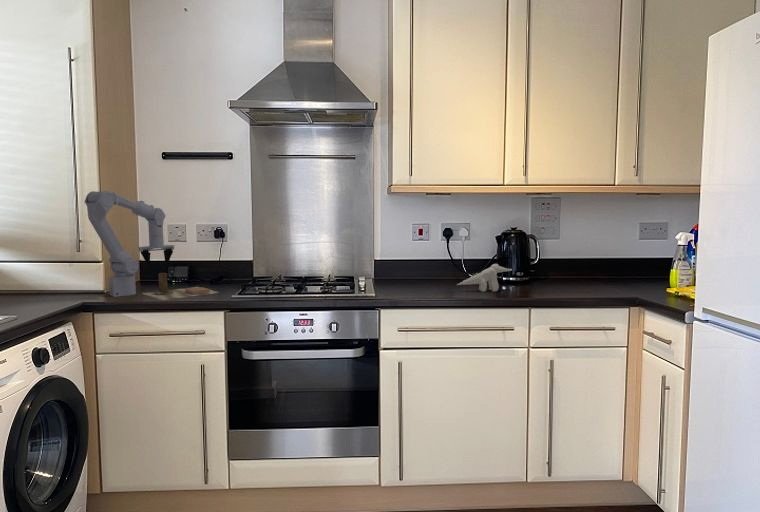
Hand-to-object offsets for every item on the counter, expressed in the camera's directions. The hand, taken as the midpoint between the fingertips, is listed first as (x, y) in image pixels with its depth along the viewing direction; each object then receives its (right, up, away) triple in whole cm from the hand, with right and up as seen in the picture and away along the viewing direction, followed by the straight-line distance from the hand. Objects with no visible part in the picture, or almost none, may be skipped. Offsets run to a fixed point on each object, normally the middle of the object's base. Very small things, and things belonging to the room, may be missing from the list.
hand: (157, 267), depth 229 cm
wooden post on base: (+8, -11, -14) cm, 19 cm away
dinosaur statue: (+140, -10, -11) cm, 141 cm away
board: (+14, -11, -12) cm, 22 cm away
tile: (+19, -9, -9) cm, 23 cm away
